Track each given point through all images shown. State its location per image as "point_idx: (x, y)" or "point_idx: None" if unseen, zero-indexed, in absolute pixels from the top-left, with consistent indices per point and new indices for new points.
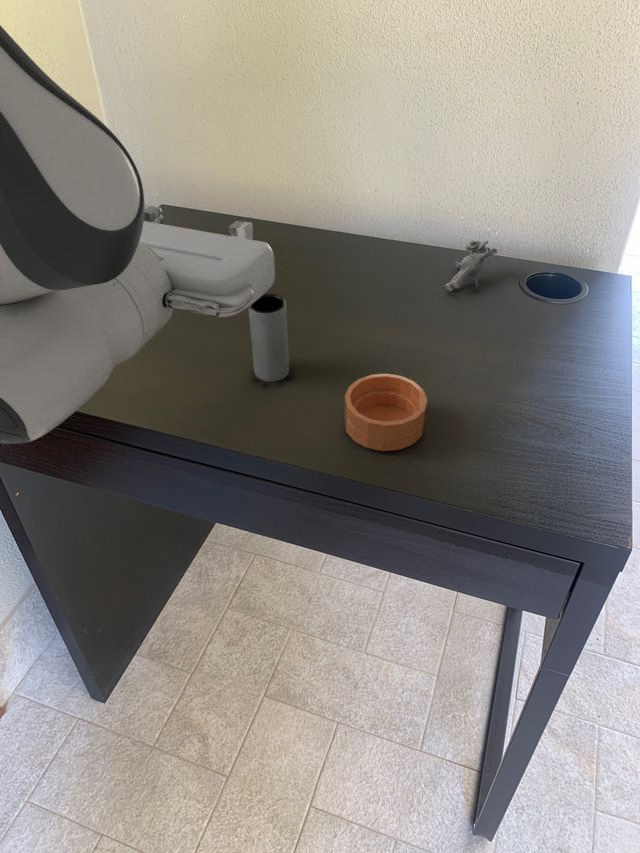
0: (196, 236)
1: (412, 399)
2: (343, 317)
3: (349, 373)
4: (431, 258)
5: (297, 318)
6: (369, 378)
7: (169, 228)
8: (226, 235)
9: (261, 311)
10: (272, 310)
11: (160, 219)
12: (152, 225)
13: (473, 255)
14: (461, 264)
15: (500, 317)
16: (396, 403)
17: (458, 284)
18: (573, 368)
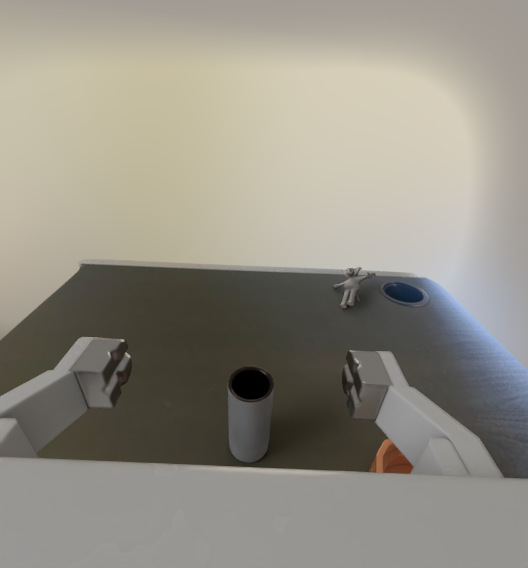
0: (400, 551)
1: None
2: (281, 350)
3: (326, 421)
4: (311, 282)
5: (241, 360)
6: (387, 448)
7: (233, 510)
8: (482, 482)
9: (237, 387)
10: (249, 382)
11: (126, 366)
12: (139, 505)
13: (353, 279)
14: (346, 286)
15: (395, 325)
16: (407, 461)
17: (353, 303)
18: (485, 365)
